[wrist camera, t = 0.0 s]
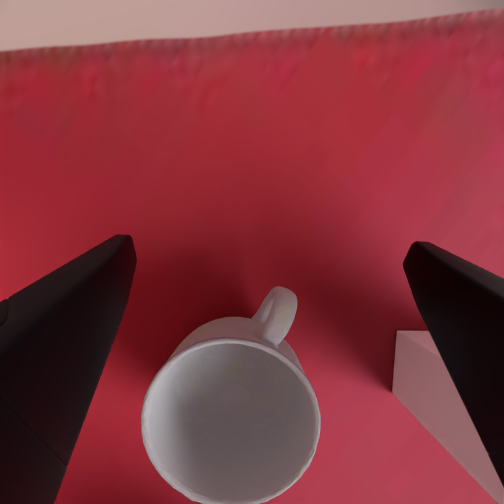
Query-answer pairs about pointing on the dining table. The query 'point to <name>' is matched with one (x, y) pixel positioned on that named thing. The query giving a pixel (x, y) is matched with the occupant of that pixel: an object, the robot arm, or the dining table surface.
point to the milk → (440, 406)
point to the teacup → (233, 409)
